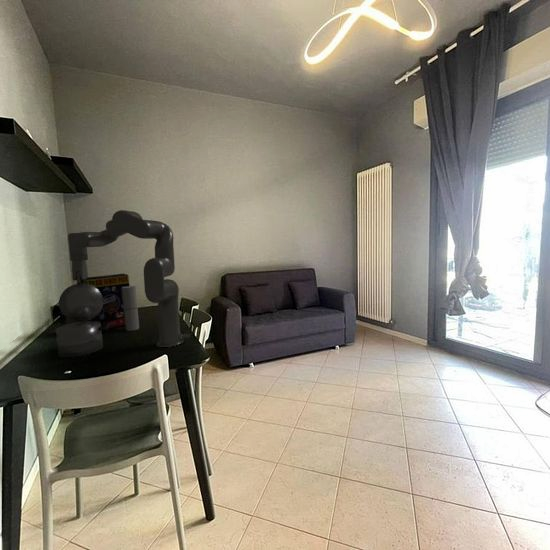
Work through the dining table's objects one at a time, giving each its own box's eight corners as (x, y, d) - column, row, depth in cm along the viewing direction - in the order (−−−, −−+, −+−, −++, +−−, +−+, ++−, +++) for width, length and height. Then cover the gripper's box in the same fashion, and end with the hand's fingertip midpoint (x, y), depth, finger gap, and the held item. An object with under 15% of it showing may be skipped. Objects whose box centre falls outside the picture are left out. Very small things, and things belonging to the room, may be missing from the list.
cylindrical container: (134, 330, 177) (130, 287, 174) (123, 330, 178) (118, 288, 175) (141, 327, 184) (138, 286, 181) (131, 327, 185) (127, 286, 182)
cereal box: (126, 321, 201) (120, 272, 198) (135, 323, 194) (129, 272, 191) (81, 332, 180) (74, 278, 177) (89, 334, 173) (82, 278, 170)
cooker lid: (104, 318, 157) (105, 317, 160) (101, 281, 156) (102, 281, 159) (60, 323, 150) (62, 322, 153) (56, 285, 149) (59, 284, 152)
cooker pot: (112, 340, 160) (110, 317, 159) (106, 352, 142) (104, 327, 140) (58, 347, 152) (55, 324, 150) (44, 361, 134) (41, 334, 132)
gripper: (74, 257, 161) (78, 292, 163) (65, 258, 147) (70, 296, 149) (90, 256, 163) (94, 290, 165) (83, 257, 149) (87, 295, 151)
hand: (82, 293), depth 157 cm, fingers closed
